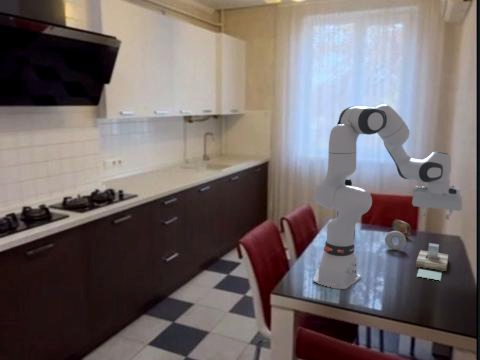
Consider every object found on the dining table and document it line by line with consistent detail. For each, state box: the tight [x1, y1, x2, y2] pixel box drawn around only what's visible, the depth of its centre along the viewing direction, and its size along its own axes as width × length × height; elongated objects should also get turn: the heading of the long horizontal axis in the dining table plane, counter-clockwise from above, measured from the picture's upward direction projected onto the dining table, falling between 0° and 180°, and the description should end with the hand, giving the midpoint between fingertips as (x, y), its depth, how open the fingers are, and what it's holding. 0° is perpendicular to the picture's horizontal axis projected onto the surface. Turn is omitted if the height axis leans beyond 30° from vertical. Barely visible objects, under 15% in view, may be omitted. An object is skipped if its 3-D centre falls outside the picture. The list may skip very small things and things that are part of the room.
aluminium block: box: [427, 242, 440, 260], centre depth 179 cm, size 4×4×9 cm
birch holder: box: [415, 249, 449, 272], centre depth 180 cm, size 16×12×3 cm
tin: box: [391, 219, 412, 238], centre depth 222 cm, size 15×3×8 cm, turn 10°
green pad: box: [416, 268, 442, 282], centre depth 166 cm, size 9×9×1 cm
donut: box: [384, 230, 407, 251], centre depth 197 cm, size 10×4×10 cm, turn 69°
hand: (435, 217), depth 177 cm, fingers open, 8 cm apart
